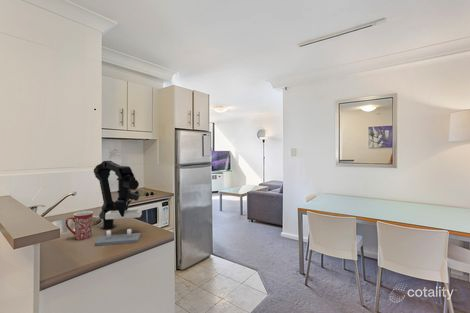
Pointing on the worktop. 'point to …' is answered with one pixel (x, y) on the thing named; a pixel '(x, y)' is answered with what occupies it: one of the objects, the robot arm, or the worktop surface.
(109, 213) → the power strip
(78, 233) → the mug
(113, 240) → the peg board
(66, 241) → the worktop surface
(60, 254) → the worktop surface
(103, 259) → the worktop surface
